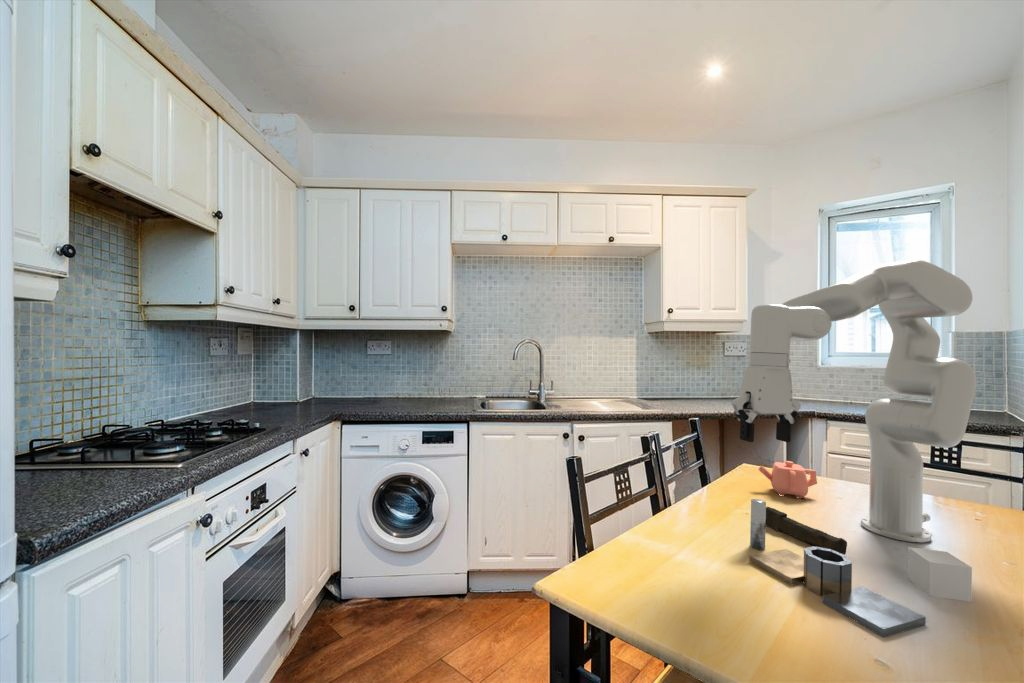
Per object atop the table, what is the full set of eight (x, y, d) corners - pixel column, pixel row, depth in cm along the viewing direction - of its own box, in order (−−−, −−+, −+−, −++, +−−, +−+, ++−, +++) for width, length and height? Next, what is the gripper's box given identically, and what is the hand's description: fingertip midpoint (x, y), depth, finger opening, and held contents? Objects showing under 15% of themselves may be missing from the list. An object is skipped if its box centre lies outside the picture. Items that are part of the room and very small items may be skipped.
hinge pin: (756, 543, 95) (757, 498, 95) (768, 549, 92) (769, 502, 92) (747, 545, 94) (748, 499, 94) (758, 551, 91) (759, 504, 91)
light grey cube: (946, 584, 80) (947, 551, 80) (971, 602, 74) (972, 567, 74) (907, 578, 82) (908, 546, 82) (929, 596, 76) (929, 561, 76)
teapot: (756, 489, 132) (756, 458, 133) (784, 486, 136) (785, 455, 136) (791, 502, 121) (791, 468, 122) (821, 498, 125) (822, 465, 125)
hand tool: (849, 557, 90) (849, 535, 90) (835, 559, 89) (835, 537, 89) (769, 522, 108) (769, 503, 108) (757, 523, 107) (757, 504, 107)
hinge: (785, 554, 90) (786, 525, 90) (925, 624, 68) (926, 586, 68) (749, 561, 87) (749, 531, 87) (883, 637, 64) (884, 596, 64)
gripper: (785, 363, 99) (782, 437, 99) (722, 359, 95) (718, 437, 95) (816, 364, 92) (812, 444, 92) (749, 360, 88) (745, 444, 87)
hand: (765, 440), depth 93 cm, fingers open, 9 cm apart
